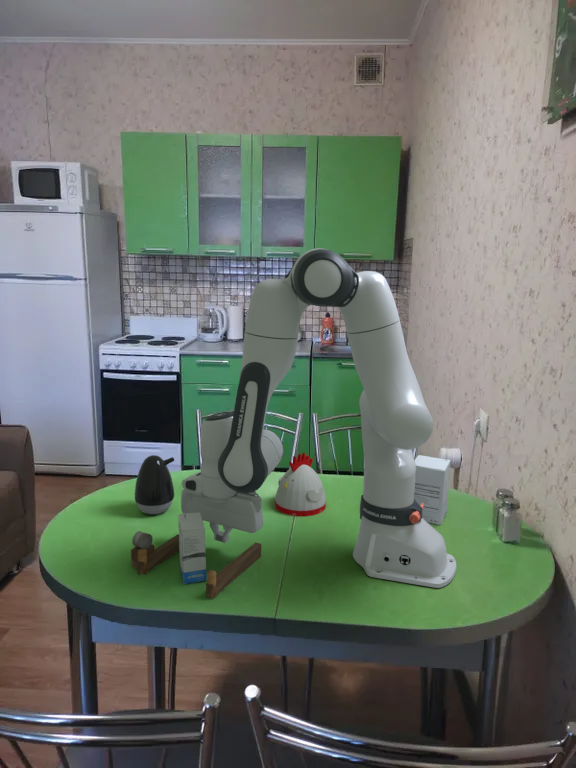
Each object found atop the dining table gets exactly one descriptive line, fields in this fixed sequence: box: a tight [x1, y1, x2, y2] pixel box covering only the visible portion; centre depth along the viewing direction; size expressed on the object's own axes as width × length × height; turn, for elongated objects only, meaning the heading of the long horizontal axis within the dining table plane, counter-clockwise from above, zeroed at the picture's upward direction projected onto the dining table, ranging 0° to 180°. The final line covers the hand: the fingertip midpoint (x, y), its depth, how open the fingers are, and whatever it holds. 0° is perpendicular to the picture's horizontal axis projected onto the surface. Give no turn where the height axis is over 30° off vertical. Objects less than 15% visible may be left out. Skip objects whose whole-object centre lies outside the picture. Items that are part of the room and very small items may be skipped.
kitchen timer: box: [274, 452, 327, 517], centre depth 149 cm, size 14×14×15 cm
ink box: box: [177, 512, 207, 585], centre depth 115 cm, size 9×5×12 cm, turn 16°
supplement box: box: [414, 455, 452, 526], centre depth 145 cm, size 9×9×15 cm
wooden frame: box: [130, 530, 262, 600], centre depth 120 cm, size 22×19×7 cm
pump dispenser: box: [134, 454, 175, 515], centre depth 145 cm, size 10×10×15 cm
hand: (221, 540), depth 126 cm, fingers closed
